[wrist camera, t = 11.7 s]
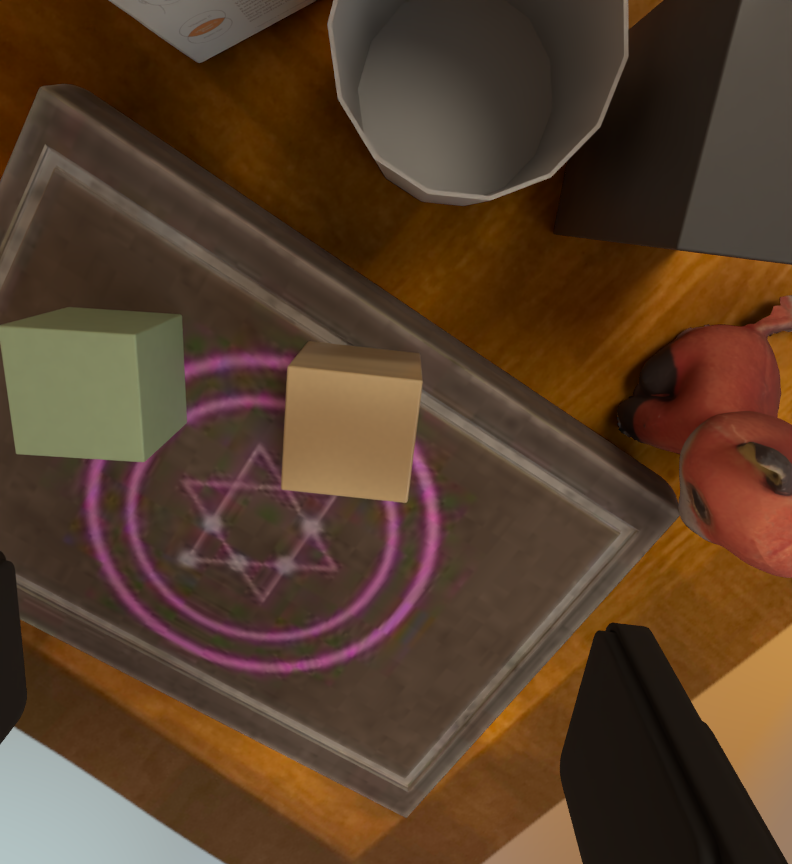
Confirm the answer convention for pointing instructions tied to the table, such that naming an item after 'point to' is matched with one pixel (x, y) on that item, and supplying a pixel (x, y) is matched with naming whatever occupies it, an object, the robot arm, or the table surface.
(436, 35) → the cup
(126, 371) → the sage block
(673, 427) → the stuffed fox
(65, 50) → the table surface
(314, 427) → the birch block
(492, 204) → the table surface
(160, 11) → the small box
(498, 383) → the book
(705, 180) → the stand
